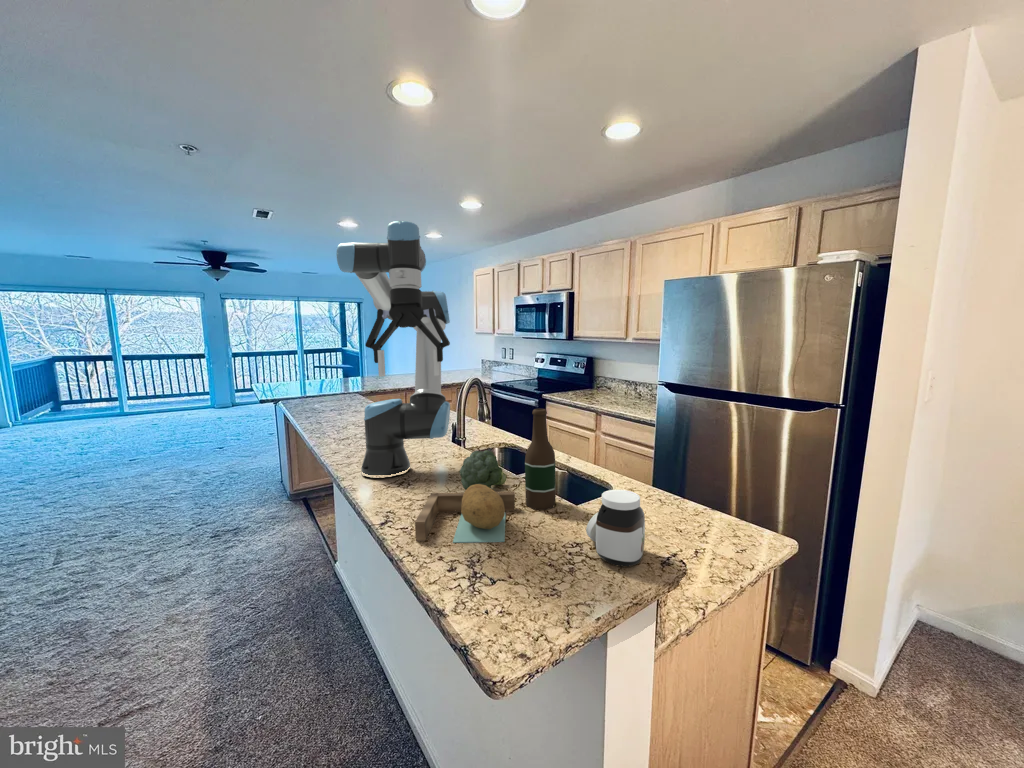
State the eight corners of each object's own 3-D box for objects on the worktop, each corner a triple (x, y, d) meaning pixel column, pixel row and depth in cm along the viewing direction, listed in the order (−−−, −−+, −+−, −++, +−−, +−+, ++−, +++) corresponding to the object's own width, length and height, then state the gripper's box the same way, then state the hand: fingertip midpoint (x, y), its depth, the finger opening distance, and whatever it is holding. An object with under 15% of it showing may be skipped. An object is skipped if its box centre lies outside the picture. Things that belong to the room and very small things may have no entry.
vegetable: (525, 483, 110) (489, 471, 99) (493, 511, 113) (455, 502, 103) (508, 450, 118) (474, 435, 108) (479, 477, 121) (443, 465, 111)
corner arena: (431, 508, 99) (431, 493, 98) (514, 507, 99) (514, 491, 98) (415, 540, 82) (414, 521, 82) (515, 538, 82) (515, 519, 82)
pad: (461, 513, 95) (461, 512, 95) (505, 512, 95) (505, 511, 95) (452, 542, 81) (452, 542, 81) (504, 541, 81) (504, 540, 81)
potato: (468, 543, 80) (467, 505, 79) (455, 516, 93) (454, 483, 92) (514, 535, 83) (514, 498, 82) (496, 510, 96) (495, 478, 96)
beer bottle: (519, 506, 99) (517, 410, 97) (535, 496, 105) (534, 406, 103) (546, 513, 95) (545, 412, 93) (561, 502, 101) (561, 408, 99)
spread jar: (632, 576, 68) (632, 509, 67) (571, 557, 74) (571, 496, 73) (652, 546, 78) (653, 488, 77) (597, 532, 84) (597, 478, 83)
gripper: (348, 287, 94) (353, 377, 96) (454, 285, 94) (457, 375, 96) (360, 292, 101) (364, 375, 103) (459, 290, 101) (461, 373, 103)
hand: (409, 376), depth 99 cm, fingers open, 13 cm apart
